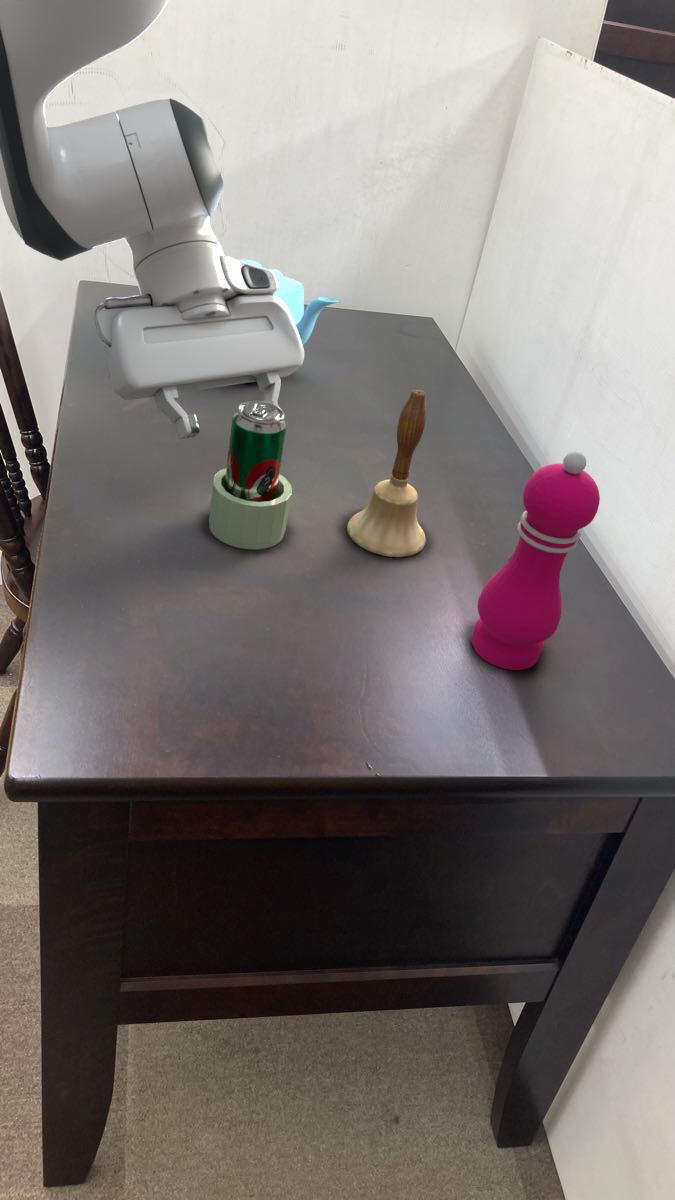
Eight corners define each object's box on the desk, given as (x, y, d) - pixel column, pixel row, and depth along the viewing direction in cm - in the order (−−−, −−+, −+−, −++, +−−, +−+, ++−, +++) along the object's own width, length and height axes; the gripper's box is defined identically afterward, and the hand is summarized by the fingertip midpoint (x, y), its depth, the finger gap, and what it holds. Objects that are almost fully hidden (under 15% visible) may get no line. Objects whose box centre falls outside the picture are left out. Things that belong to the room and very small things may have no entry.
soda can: (278, 517, 90) (296, 409, 83) (259, 540, 86) (276, 429, 79) (233, 501, 91) (247, 393, 84) (212, 524, 87) (224, 412, 80)
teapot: (184, 387, 112) (193, 280, 104) (166, 334, 124) (173, 235, 116) (322, 393, 118) (341, 292, 110) (292, 343, 130) (307, 249, 122)
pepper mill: (550, 680, 78) (634, 483, 66) (470, 668, 78) (541, 467, 66) (536, 628, 84) (611, 439, 72) (461, 617, 83) (526, 424, 72)
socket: (224, 554, 85) (230, 509, 82) (197, 511, 90) (202, 467, 87) (296, 544, 88) (304, 501, 85) (267, 504, 93) (273, 462, 90)
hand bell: (356, 556, 88) (390, 409, 79) (339, 511, 95) (369, 370, 85) (434, 559, 91) (476, 416, 81) (413, 514, 97) (450, 377, 87)
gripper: (99, 284, 78) (149, 435, 78) (288, 271, 90) (330, 403, 90) (76, 314, 83) (123, 456, 83) (258, 299, 95) (298, 423, 95)
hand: (232, 428), depth 87 cm, fingers open, 8 cm apart
